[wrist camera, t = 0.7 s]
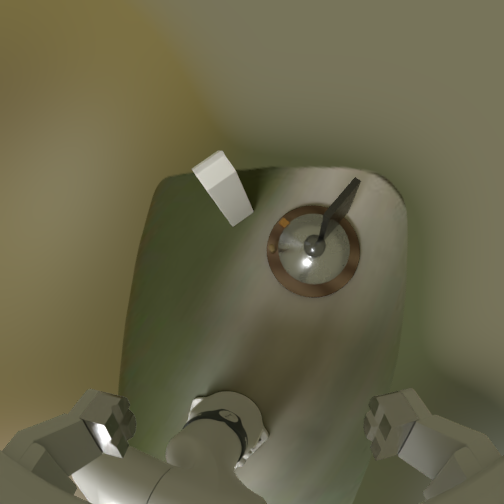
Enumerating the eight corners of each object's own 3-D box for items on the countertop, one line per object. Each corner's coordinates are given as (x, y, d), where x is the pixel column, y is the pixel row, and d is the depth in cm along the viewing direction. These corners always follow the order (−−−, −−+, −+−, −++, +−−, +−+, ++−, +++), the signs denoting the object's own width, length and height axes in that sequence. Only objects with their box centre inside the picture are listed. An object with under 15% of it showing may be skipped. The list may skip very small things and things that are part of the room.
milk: (219, 208, 64) (183, 159, 43) (240, 193, 64) (213, 139, 43) (233, 227, 62) (200, 182, 41) (254, 212, 62) (231, 160, 41)
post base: (337, 312, 54) (341, 311, 49) (252, 274, 59) (248, 270, 54) (370, 228, 57) (375, 221, 52) (289, 195, 62) (288, 185, 57)
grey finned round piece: (317, 299, 54) (324, 292, 39) (258, 247, 58) (244, 223, 44) (371, 233, 55) (392, 206, 40) (313, 187, 60) (315, 149, 45)
